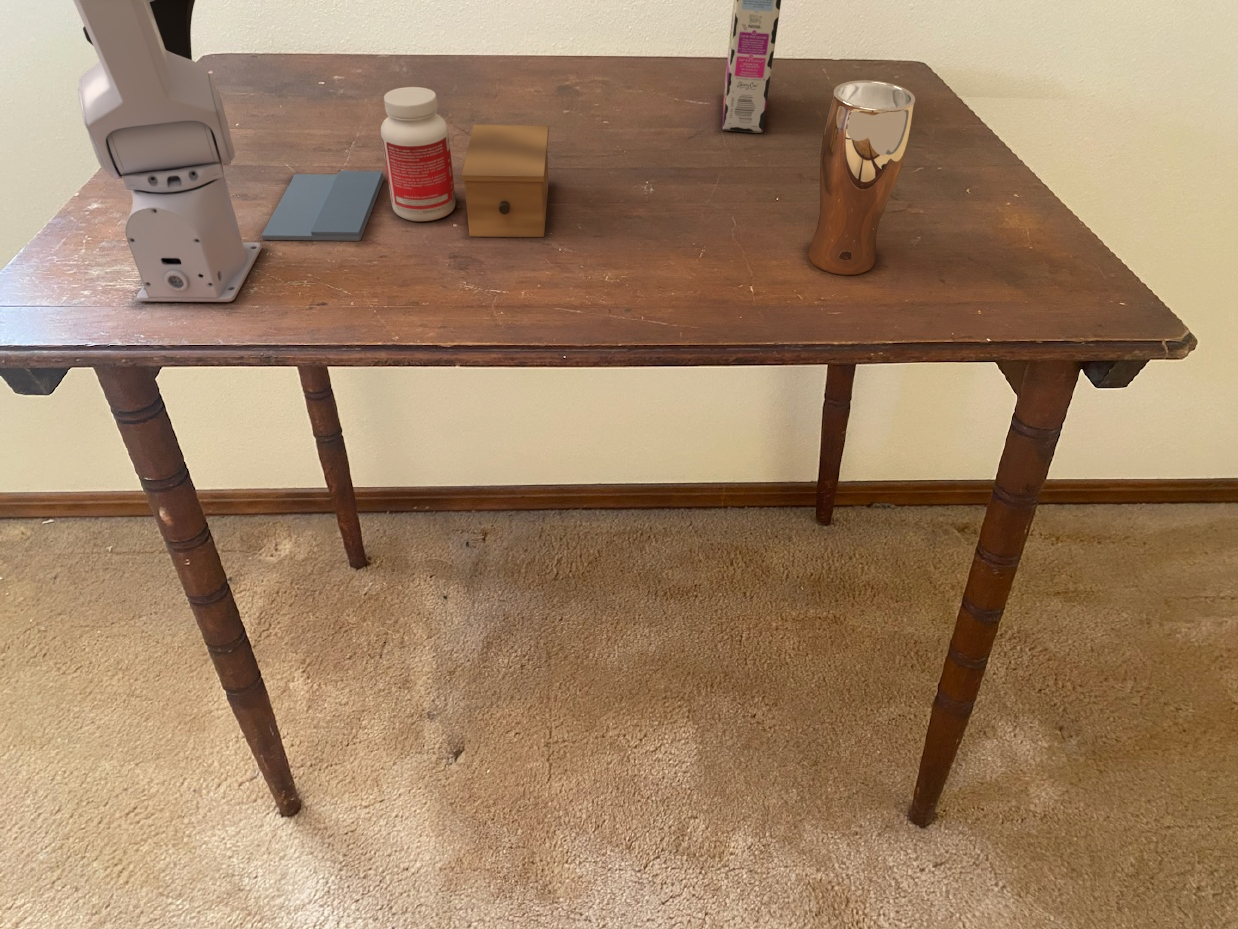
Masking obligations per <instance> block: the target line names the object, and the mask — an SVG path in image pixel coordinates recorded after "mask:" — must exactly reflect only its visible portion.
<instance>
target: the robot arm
mask: <svg viewBox="0 0 1238 929" xmlns="http://www.w3.org/2000/svg"><path fill="white" fill-rule="evenodd" d="M73 3H74V5H75V7H76V10H77V12H78V14H79V17H80V18H81V21H82V23H83V25H84V26H83V28H82V30H83V35H84V36H85V39H86V41H87V42H88V43H89V44H91V46H93V48H94V50H95V53H96V56H97V58H98V59H99V61H98V62H97V63H95V64H94V65H93V66H92V67H91V68H90V69H88V70H87V71H86V72H85V73H84V74H82V75H81V76H80V78H79V80H78V81H79V82H78V84H79V87H78V88H77V94H78V101H79V107H80V111H81V115H82V116H81V117H82V119H83V123H84V126H85V128H86V130H87V133H88V136H89V139H90V140H89V141H90V143H91V145H92V149H93V151H94V154H95V156H96V159H97V162H98V164H99V166H100V168H101V169H102V171H103V172H104V173H105V174H107V175H108V176H109V177H110V178H111V179H113V180H120V179H122V182H123V185H124V188H125V190H126V191H130V192H131V197H132V198H131V199H132V200H131V201H132V206H131V210H130V213H129V215H128V217H127V219H126V222H125V226H124V227H125V229H124V233H125V234H124V235H125V238H126V242H127V244H128V247H129V249H130V252H131V255H132V258H133V260H134V263H135V266H136V268H137V271H138V275H139V277H140V279H141V282H142V287H141V288H140V289H139V291H138V293H137V294H136V298H137V300H138V301H139V302H169V303H170V302H171V303H173V302H174V303H175V302H177V303H179V302H180V303H181V302H189V303H193V302H194V303H195V302H196V303H230V302H233V301H234V300H235V299H236V298H237V295H238V294H239V291H240V289H241V288H242V286H243V284H244V282H245V281H246V278H247V276H248V275H249V273H250V271H251V269H252V267H253V266H254V264H255V262H256V260H257V258H258V257H259V254H260V252H261V250H262V248H263V247H262V244H261V243H260V242H256V241H255V242H253V241H251V242H249V241H247V242H244V241H243V237H242V234H241V231H240V228H239V224H238V220H237V216H236V213H235V210H234V206H233V201H232V199H231V196H230V192H229V188H228V184H227V181H226V176H225V172H224V166H229V165H232V162H233V160H234V159H235V157H236V154H235V149H234V144H233V140H232V136H231V132H230V127H229V122H228V119H227V116H226V111H225V108H224V104H223V101H222V96H221V92H220V91H219V89H218V88H217V87H216V84H215V81H214V77H213V75H212V74H211V73H210V72H209V73H208V69H207V66H205V65H204V64H202V63H200V62H197V61H194V60H193V54H192V34H191V33H192V19H193V11H194V6H195V3H196V0H73Z"/></svg>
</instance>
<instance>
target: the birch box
mask: <svg viewBox="0 0 1238 929" xmlns="http://www.w3.org/2000/svg"><path fill="white" fill-rule="evenodd" d="M549 133H550V126H549V125H536V124H535V125H534V124H533V125H527V124H526V125H525V124H473V126H472V129H471V134H470V138H469V142H468V145H467V151H466V155H465V158H464V163H463V166H462V171H461V175H460V178H461V181H462V182H464V192H465V201H466V203H465V204H466V212H467V224H468V233H469V237H476V238H477V237H479V238H480V237H481V238H482V237H483V238H484V237H485V238H486V237H487V238H489V237H490V238H544V237H545V230H546V219H547V207H548V196H549V195H548V193H549V164H548V159H549V158H548V145H549V144H548V143H549Z"/></svg>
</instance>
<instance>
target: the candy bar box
mask: <svg viewBox="0 0 1238 929" xmlns="http://www.w3.org/2000/svg"><path fill="white" fill-rule="evenodd" d="M781 5H782V0H733V4H732V12H731V20H730V29H729V30H730V32H729V40H728V48H727V58H726V59H727V60H726V67H725V68H726V69H725V79H724V88H723V102H722V103H723V104H722V106H723V107H722V109H723V110H722V130H723V131H727V132H738V133H739V132H740V133H751V134H752V133H753V134H762V133H763V132H764V125H765V118H766V113H767V111H766V110H767V103H768V99H769V98H768V97H769V90H770V83H771V77H772V69H773V64H774V63H773V61H774V55H775V48H776V41H777V35H778V26H779V21H780V20H779V19H780V14H781V13H780V12H781Z"/></svg>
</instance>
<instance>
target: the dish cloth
mask: <svg viewBox="0 0 1238 929" xmlns="http://www.w3.org/2000/svg"><path fill="white" fill-rule="evenodd" d="M384 179H385V178H384V172H383V171H382V170H339V171H338V173H337V174H335V173H334V174H327V173H325V174H324V173H323V174H322V173H321V174H320V173H295V174H294V175H293V177H292V179H291V181H290V183H289V184H288V186H287V188H286V190H285V192H284V194H283V195H282V197H281V199H280V200H279V203H278V205H277V207H276V208H275V210H274V212H273V214H272V215H271V217H270V218H269V221H268V222H267V225H266V226H265V228H264V230H263V232H262V234H261V239H262V241H332V242H333V241H334V242H335V241H336V242H337V241H338V242H340V241H341V242H343V241H344V242H345V241H346V242H348V241H349V242H350V241H351V242H352V241H353V242H360V241H361V240H362V237H363V235H364V232H365V229H366V227H367V225H368V222H369V219H370V216H371V213H372V212H373V209H374V206H375V203H376V200H377V198H378V195H379V193H380V190H381V187H382V185H383V183H384Z"/></svg>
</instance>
